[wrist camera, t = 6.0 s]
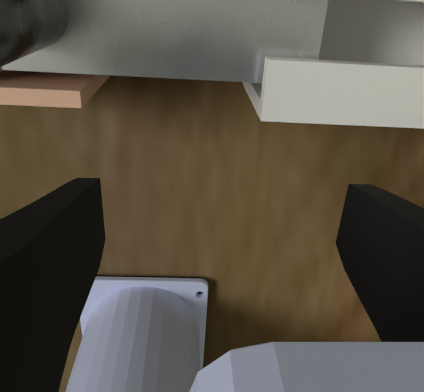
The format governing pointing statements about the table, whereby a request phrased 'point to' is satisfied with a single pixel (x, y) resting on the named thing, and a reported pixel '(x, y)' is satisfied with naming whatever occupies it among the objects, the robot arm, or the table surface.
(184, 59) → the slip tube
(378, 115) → the white channel beam
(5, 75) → the socket
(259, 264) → the table surface
